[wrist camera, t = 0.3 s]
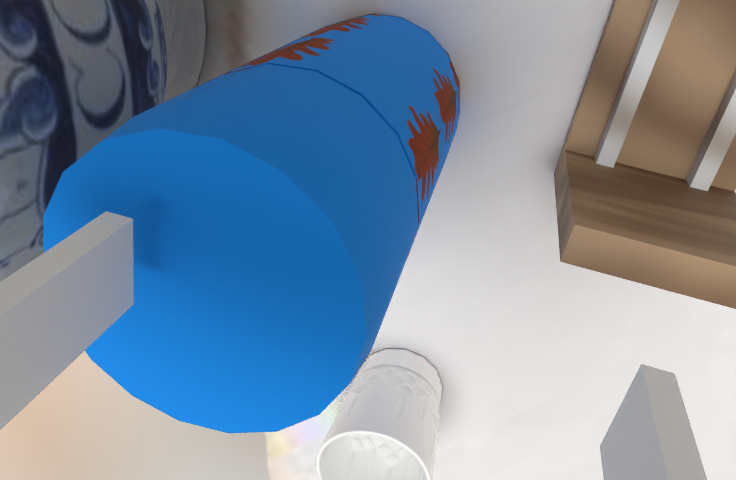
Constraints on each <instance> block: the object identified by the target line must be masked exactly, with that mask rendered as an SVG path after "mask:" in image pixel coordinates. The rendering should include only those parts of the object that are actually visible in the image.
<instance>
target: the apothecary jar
mask: <svg viewBox="0 0 736 480" xmlns="http://www.w3.org/2000/svg"><path fill="white" fill-rule="evenodd" d="M205 40H206V21H205V9H204V3H203V0H0V282H1V281H3V280H4V279H6V278H7V277H9V276H10V275H12V274H13V273H15V272H16V271H18V270H19V269H21V268H22V267H24V266H25V265H27V264H28V263H30V262H31V261H33V260H34V259H36V258H37V257H39V256H40V255H42V254H43V216H44V213H45V211H46V209H47V207H48V204H49V202H50V200H51V198H52V195H53V193H54V191H55V189H56V186H57V184H58V182H59V180H60V177H61V175H62V173H63V171H65V170H66V169H67V168H68V167H70V166H71V165H72V164H73V163H75V162H76V161H77V160H78V159H80V158H81V157H82V156H83V155H85V154H86V153H87V152H88V151H90V150H91V149H92V148H93V147H95V146H96V145H97V144H98V143H100V142H101V141H102V140H104V139H105V138H106V137H107V136H109V135H110V134H111V133H113V132H114V131H115V130H117V129H118V128H119V127H121V126H122V125H123V124H125V123H126V122H127V121H129V120H130V119H131V118H133V117H134V116H136V115H138V114H140V113H142V112H144V111H147V110H149V109H151V108H153V107H155V106H157V105H159V104H161V103H164V102H166V101H168V100H170V99H172V98H174V97H176V96H178V95H181V94H183V93H185V92H187V91H189V90H191V89H193V88H194V86H195V85H196V83H197V81H198V79H199V75H200V71H201V68H202V64H203V61H204V51H205Z"/></svg>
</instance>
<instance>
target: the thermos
mask: <svg viewBox="0 0 736 480" xmlns="http://www.w3.org/2000/svg"><path fill="white" fill-rule="evenodd" d="M459 112H460V99H459V81H458V78H457V75H456V73H455V70H454V68H453V65H452V62H451V60H450V57H449V55H448V53H447V52H446V51H445V50H444V49H443V48H442V47H441V45H440V44H439V43H438V42H437V41H436V40H435V39H434V37H433V36H432V35H431V34H430V33H429V32H428V31H426V30H424V29H422V28H421V27H419V26H417V25H415V24H413V23H411V22H409V21H408V20H406V19H404V18H401V17H393V16H386V15H378V14H371V15H367V16H363V17H359V18H355V19H352V20H348V21H344V22H340V23H336V24H332V25H329V26H325V27H323V28H321V29H319V30H317V31H315V32H313V33H310V34H308V35H306V36H304V37H302V38H300V39H298V40H296V41H293V42H291V43H289V44H287V45H285V46H283V47H281V48H279V49H276V50H274V51H272V52H270V53H268V54H266V55H264V56H262V57H259V58H257V59H255V60H253V61H251V62H249V63H247V64H244V65H242V66H240V67H238V68H236V69H234V70H232V71H230V72H227V73H225V74H224V75H221V76H219V77H217V78H215V79H213V80H210V81H208V82H206V83H204V84H202V85H200V86H198V87H196V88H193V89H191V90H189V91H187V92H185V93H183V94H181V95H178V96H176V97H174V98H172V99H170V100H168V101H166V102H164V103H161V104H159V105H157V106H155V107H153V108H151V109H149V110H147V111H144V112H142V113H140V114H138V115H136V116H134V117H133V118H131V119H130V120H129V121H127V122H126V123H125V124H123V125H122V126H121V127H119V128H118V129H117V130H115V131H114V132H113V133H111V134H110V135H109V136H107V137H106V138H105V139H104V140H102V141H101V142H100V143H98V144H97V145H96V146H95V147H93V148H92V149H91V150H90V151H88V152H87V153H86V154H85V155H83V156H82V157H81V158H80V159H78V160H77V161H76V162H75V163H73V164H72V165H71V166H70V167H68V168H67V169H66V170H65V171H63V173H62V175H61V177H60V180H59V182H58V184H57V186H56V189H55V191H54V193H53V195H52V198H51V200H50V202H49V204H48V207H47V209H46V211H45V213H44V216H43V253H45V252H46V251H48V250H49V249H51V248H52V247H54V246H55V245H57V244H58V243H60V242H61V241H63V240H64V239H66V238H67V237H69V236H70V235H72V234H73V233H74V232H76V231H77V230H79V229H80V228H82V227H83V226H85V225H86V224H88V223H89V222H91V221H92V220H94V219H95V218H97V217H98V216H100V215H101V214H103V213H104V212H106V211H108V212H111V213H115V214H118V215H122V216H125V217H129V218H132V219H133V283H134V304H133V305H132V306H131V307H130V308H129V309H128V310H127V311H126V312H125V313H124V314H123V315H122V316H121V317H120V318H119V319H117V320H116V321H115V322H114V323H113V324H112V325H111V326H110V327H109V328H108V329H107V330H106V331H105V332H104V333H103V334H102V335H101V336H99V337H98V338H97V339H96V340H95V341H94V342H93V343H92V344H91V345H90V346H89V347H88V348H87V349H86V350H85V351H86V353H87V354H88V355H89V357H90V358H91V360H93V361H94V362H95V363H96V364H97V365H98V366H99V367H100V368H102V369H103V370H104V371H105V372H106V373H107V374H108V375H109V376H111V377H112V378H113V379H114V380H115V381H116V382H117V383H118V384H120V385H121V386H122V387H123V388H124V389H125V390H126V391H127V392H129V393H130V394H131V395H132V396H134V397H136V398H138V399H140V400H141V401H143V402H145V403H147V404H149V405H151V406H153V407H154V408H156V409H158V410H160V411H162V412H164V413H166V414H167V415H169V416H171V417H173V418H175V419H177V420H179V421H182V422H186V423H191V424H194V425H198V426H202V427H206V428H210V429H214V430H218V431H222V432H226V433H247V432H276V431H279V430H282V429H284V428H287V427H289V426H292V425H294V424H297V423H299V422H302V421H304V420H307V419H309V418H312V417H314V416H317V415H319V414H320V413H321V412H322V411H323V410H324V409H325V408H326V407H327V406H328V405H329V404H330V403H331V402H332V401H333V400H334V399H335V398H336V397H337V396H338V395H339V394H340V393H341V392H342V391H343V390H344V389H345V388H346V387H347V386H348V385H349V384H350V382H351V381H352V380H353V378H354V377H355V375H356V373H357V372H358V370H359V369H360V367H361V366H362V364H363V362H364V361H365V359H366V358H367V356H368V355H369V353H370V351H371V349H372V347H373V344H374V341H375V339H376V336H377V334H378V331H379V329H380V326H381V324H382V321H383V318H384V316H385V313H386V311H387V308H388V306H389V303H390V301H391V298H392V295H393V293H394V290H395V288H396V285H397V283H398V280H399V277H400V275H401V272H402V270H403V267H404V265H405V262H406V260H407V257H408V254H409V252H410V249H411V247H412V244H413V242H414V239H415V236H416V234H417V231H418V229H419V226H420V224H421V221H422V219H423V216H424V213H425V211H426V208H427V206H428V203H429V201H430V198H431V195H432V193H433V190H434V188H435V185H436V183H437V180H438V178H439V175H440V172H441V170H442V167H443V165H444V162H445V160H446V157H447V154H448V151H449V148H450V145H451V143H452V140H453V137H454V134H455V131H456V128H457V123H458V118H459Z"/></svg>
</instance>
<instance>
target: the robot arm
mask: <svg viewBox="0 0 736 480" xmlns="http://www.w3.org/2000/svg"><path fill="white" fill-rule="evenodd" d="M133 304H134V283H133V219H132V218H129V217H125V216H122V215H118V214H115V213H111V212H108V211H106V212H104V213H103V214H101V215H100V216H98V217H97V218H95V219H94V220H92V221H91V222H89V223H88V224H86V225H85V226H83V227H82V228H80V229H79V230H77V231H76V232H74V233H73V234H72V235H70V236H69V237H67V238H66V239H64V240H63V241H61V242H60V243H58V244H57V245H55V246H54V247H52V248H51V249H49V250H48V251H46V252H45V253H43V254H42V255H40V256H39V257H37V258H36V259H34V260H33V261H31V262H30V263H28V264H27V265H25V266H24V267H22V268H21V269H19V270H18V271H16V272H15V273H13V274H12V275H10V276H9V277H7V278H6V279H4V280H3V281H1V282H0V430H1V429H2V428H3V427H4V426H5V425H6V424H7V423H8V422H9V421H10V420H11V419H12V418H13V417H15V416H16V415H17V414H18V413H19V412H20V411H21V410H22V409H23V408H24V407H25V406H26V405H27V404H28V403H29V402H31V401H32V400H33V399H34V398H35V397H36V396H37V395H38V394H39V393H40V392H41V391H42V390H43V389H44V388H45V387H46V386H48V385H49V384H50V382H52V381H53V380H54V379H55V378H56V377H57V376H58V375H59V374H60V373H61V372H62V371H63V370H64V369H66V368H67V367H68V366H69V365H70V364H71V363H72V362H73V361H74V360H75V359H76V358H77V357H78V356H79V355H80V354H81V353H82V352H84V351H85V350H86V349H87V348H88V347H89V346H90V345H91V344H92V343H93V342H94V341H95V340H96V339H97V338H98V337H99V336H101V335H102V334H103V333H104V332H105V331H106V330H107V329H108V328H109V327H110V326H111V325H112V324H113V323H114V322H115V321H116V320H117V319H119V318H120V317H121V316H122V315H123V314H124V313H125V312H126V311H127V310H128V309H129V308H130V307H131V306H132V305H133ZM600 451H601V459H602V468H603V476H604V480H707V478H706V475H705V472H704V468H703V465H702V462H701V458H700V455H699V452H698V449H697V445H696V442H695V439H694V435H693V432H692V429H691V426H690V422H689V419H688V416H687V413H686V409H685V406H684V403H683V399H682V396H681V393H680V390H679V386H678V383H677V380H676V376H675V374H674V373H671V372H667V371H664V370H660V369H657V368H653V367H650V366H646V365H643V364H641V366H640V368H639V370H638V372H637V374H636V376H635V378H634V380H633V382H632V384H631V386H630V388H629V390H628V392H627V394H626V396H625V398H624V400H623V402H622V404H621V406H620V408H619V410H618V412H617V414H616V416H615V418H614V419H613V421H612V423H611V425H610V427H609V429H608V431H607V433H606V435H605V437H604V439H603V441H602V443H601V445H600Z"/></svg>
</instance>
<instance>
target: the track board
mask: <svg viewBox="0 0 736 480" xmlns="http://www.w3.org/2000/svg"><path fill="white" fill-rule="evenodd" d="M554 180H555V194H556V208H557V221H558V235H559V249H560V262H564V263H568V264H572V265H575V266H579V267H583V268H586V269H590V270H594V271H598V272H601V273H605V274H609V275H612V276H616V277H620V278H623V279H627V280H631V281H635V282H638V283H642V284H646V285H649V286H653V287H657V288H660V289H664V290H668V291H672V292H675V293H679V294H683V295H686V296H690V297H694V298H697V299H701V300H705V301H709V302H712V303H716V304H720V305H723V306H727V307H731V308H735V309H736V193H735V192H734V191H735V189H736V0H615V1H614V4H613V6H612V9H611V12H610V15H609V18H608V21H607V24H606V26H605V29H604V32H603V35H602V38H601V41H600V44H599V47H598V49H597V52H596V55H595V58H594V61H593V64H592V67H591V70H590V72H589V75H588V78H587V81H586V84H585V87H584V90H583V92H582V95H581V98H580V101H579V104H578V107H577V110H576V113H575V115H574V118H573V121H572V124H571V127H570V130H569V133H568V135H567V138H566V141H565V144H564V147H563V150H562V153H561V156H560V158H559V161H558V164H557V167H556V170H555V173H554Z"/></svg>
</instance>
